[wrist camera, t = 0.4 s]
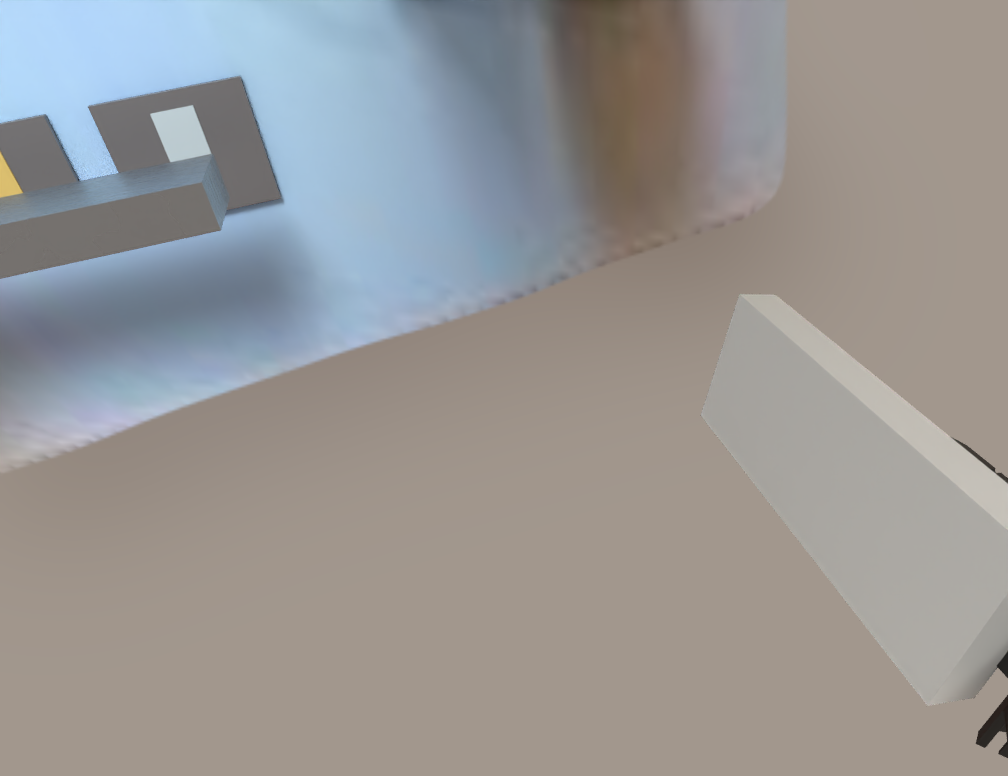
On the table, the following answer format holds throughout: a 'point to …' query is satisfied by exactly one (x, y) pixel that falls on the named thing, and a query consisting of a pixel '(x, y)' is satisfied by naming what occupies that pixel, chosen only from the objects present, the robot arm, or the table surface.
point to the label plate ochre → (31, 157)
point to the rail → (110, 214)
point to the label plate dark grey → (192, 135)
